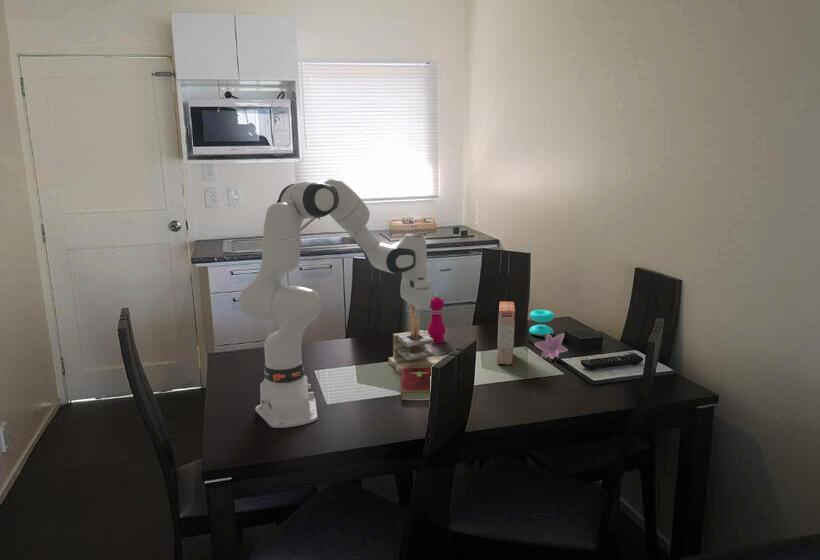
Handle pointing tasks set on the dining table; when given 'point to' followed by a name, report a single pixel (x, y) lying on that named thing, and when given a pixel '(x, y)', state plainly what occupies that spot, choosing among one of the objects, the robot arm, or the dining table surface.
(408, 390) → the hardcover book
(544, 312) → the donuts
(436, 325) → the pepper mill
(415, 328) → the copper tube
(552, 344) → the lily
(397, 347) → the collar stand
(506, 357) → the cracker box
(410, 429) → the dining table surface
